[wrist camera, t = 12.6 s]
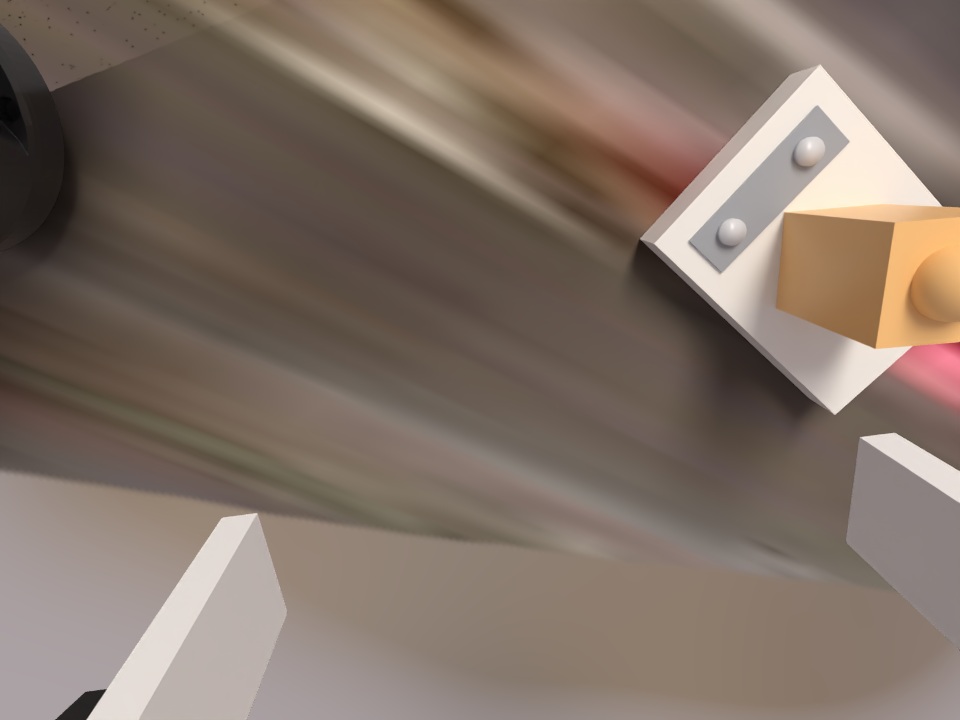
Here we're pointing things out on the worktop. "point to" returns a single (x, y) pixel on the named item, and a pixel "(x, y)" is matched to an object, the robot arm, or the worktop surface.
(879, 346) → the orange cube with dome
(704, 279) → the block
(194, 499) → the worktop surface
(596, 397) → the worktop surface
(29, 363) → the worktop surface
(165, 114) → the worktop surface
